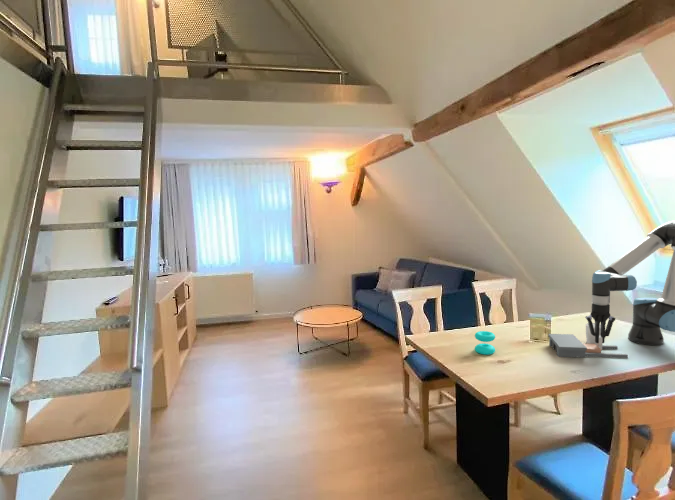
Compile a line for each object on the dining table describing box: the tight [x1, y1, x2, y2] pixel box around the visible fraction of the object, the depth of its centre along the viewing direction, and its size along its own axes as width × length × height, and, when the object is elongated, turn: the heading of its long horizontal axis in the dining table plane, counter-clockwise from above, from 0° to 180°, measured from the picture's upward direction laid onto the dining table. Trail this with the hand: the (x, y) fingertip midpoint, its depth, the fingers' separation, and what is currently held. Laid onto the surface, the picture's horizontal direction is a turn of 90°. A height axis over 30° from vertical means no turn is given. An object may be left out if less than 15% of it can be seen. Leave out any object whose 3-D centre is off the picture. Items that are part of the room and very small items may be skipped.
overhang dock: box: [548, 333, 629, 359], centre depth 207 cm, size 31×20×6 cm, turn 77°
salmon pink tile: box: [581, 342, 602, 353], centre depth 208 cm, size 14×8×3 cm, turn 77°
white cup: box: [585, 322, 601, 345], centre depth 218 cm, size 8×8×10 cm
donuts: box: [474, 330, 496, 356], centre depth 214 cm, size 10×10×10 cm
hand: (599, 349), depth 206 cm, fingers closed
